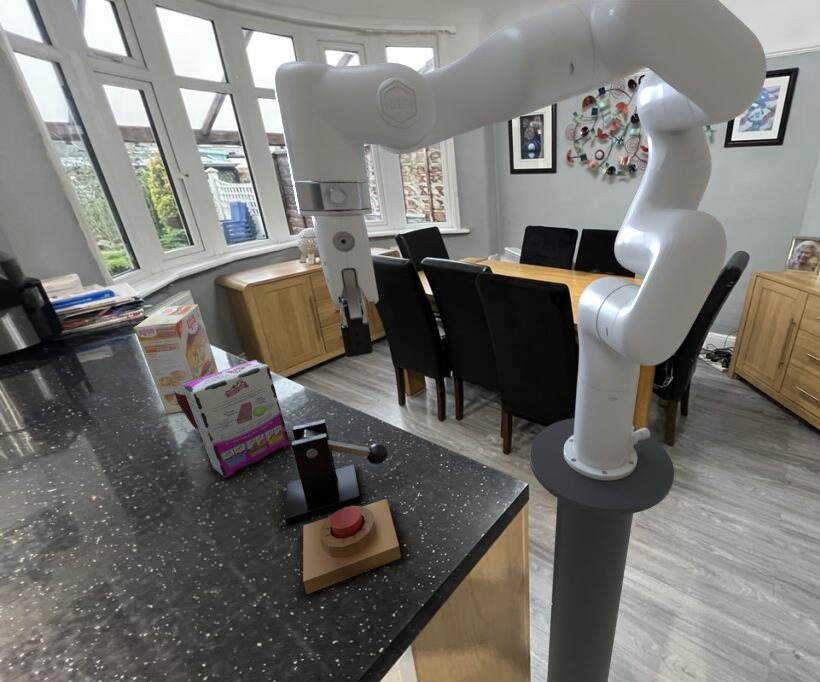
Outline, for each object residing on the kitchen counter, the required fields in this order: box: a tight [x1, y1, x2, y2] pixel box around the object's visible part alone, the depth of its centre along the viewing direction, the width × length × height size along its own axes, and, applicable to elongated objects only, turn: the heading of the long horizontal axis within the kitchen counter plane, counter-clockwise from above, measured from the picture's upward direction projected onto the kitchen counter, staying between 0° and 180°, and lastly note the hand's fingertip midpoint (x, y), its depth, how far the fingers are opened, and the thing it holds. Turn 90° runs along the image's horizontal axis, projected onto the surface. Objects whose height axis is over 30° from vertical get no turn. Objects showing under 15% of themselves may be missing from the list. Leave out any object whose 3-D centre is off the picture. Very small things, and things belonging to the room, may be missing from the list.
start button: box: [331, 506, 363, 539], centre depth 51 cm, size 4×4×2 cm
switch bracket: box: [284, 419, 362, 526], centre depth 59 cm, size 10×8×12 cm
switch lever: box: [300, 430, 388, 465], centre depth 60 cm, size 13×3×3 cm
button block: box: [302, 498, 402, 595], centre depth 52 cm, size 11×9×4 cm
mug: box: [174, 375, 209, 431], centre depth 77 cm, size 11×8×10 cm
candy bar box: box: [182, 359, 291, 479], centre depth 67 cm, size 11×5×16 cm, turn 147°
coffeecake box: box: [133, 303, 219, 415], centre depth 86 cm, size 15×7×20 cm, turn 22°
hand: (359, 352), depth 50 cm, fingers closed
